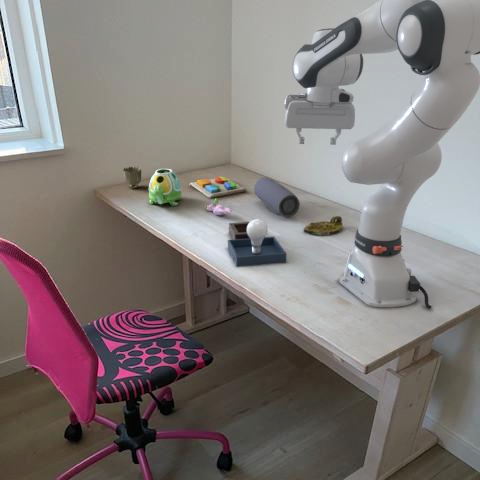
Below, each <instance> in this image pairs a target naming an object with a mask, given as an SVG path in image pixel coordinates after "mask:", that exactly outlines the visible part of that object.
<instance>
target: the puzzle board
mask: <svg viewBox="0 0 480 480" xmlns="http://www.w3.org/2000/svg"><path fill="white" fill-rule="evenodd" d="M188 185H189V186H190V187H192V188H194V189H196V190H197V191H198V192H200V193H202V195H204V196H205V197H207V198H208V199H212V198H217V197H222V196H228V195H233V194H239V193H244V192H247V188H245V187H242V186H240V185H239V184H237V182H236V183H235V182H234V181H232V180H231V179H229V178H227V177H225V176H216V177H215V178H212V179H207V178H204V179H203V178H202V179H197V180H196V181H194V182H189V184H188Z"/></svg>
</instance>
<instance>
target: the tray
mask: <svg viewBox="0 0 480 480" xmlns="http://www.w3.org/2000/svg"><path fill="white" fill-rule="evenodd" d="M227 250H228V252H229V254H230V256H231V258H232V260H233V262H234V265H235V266H236V267H248V266H260V265H274V264H275V265H276V264H286V263H287V252H286V251H285V249H284V248H283V246H282V245H281V244H280V242H279V241H278V239H277V238H276V237H275V236H265V238H264V239H263V241H262V244H261V252H260V253H258V254H254V253H253V252H252V243H251V239H250V238H248V239H234V240H232V239H227Z"/></svg>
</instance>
